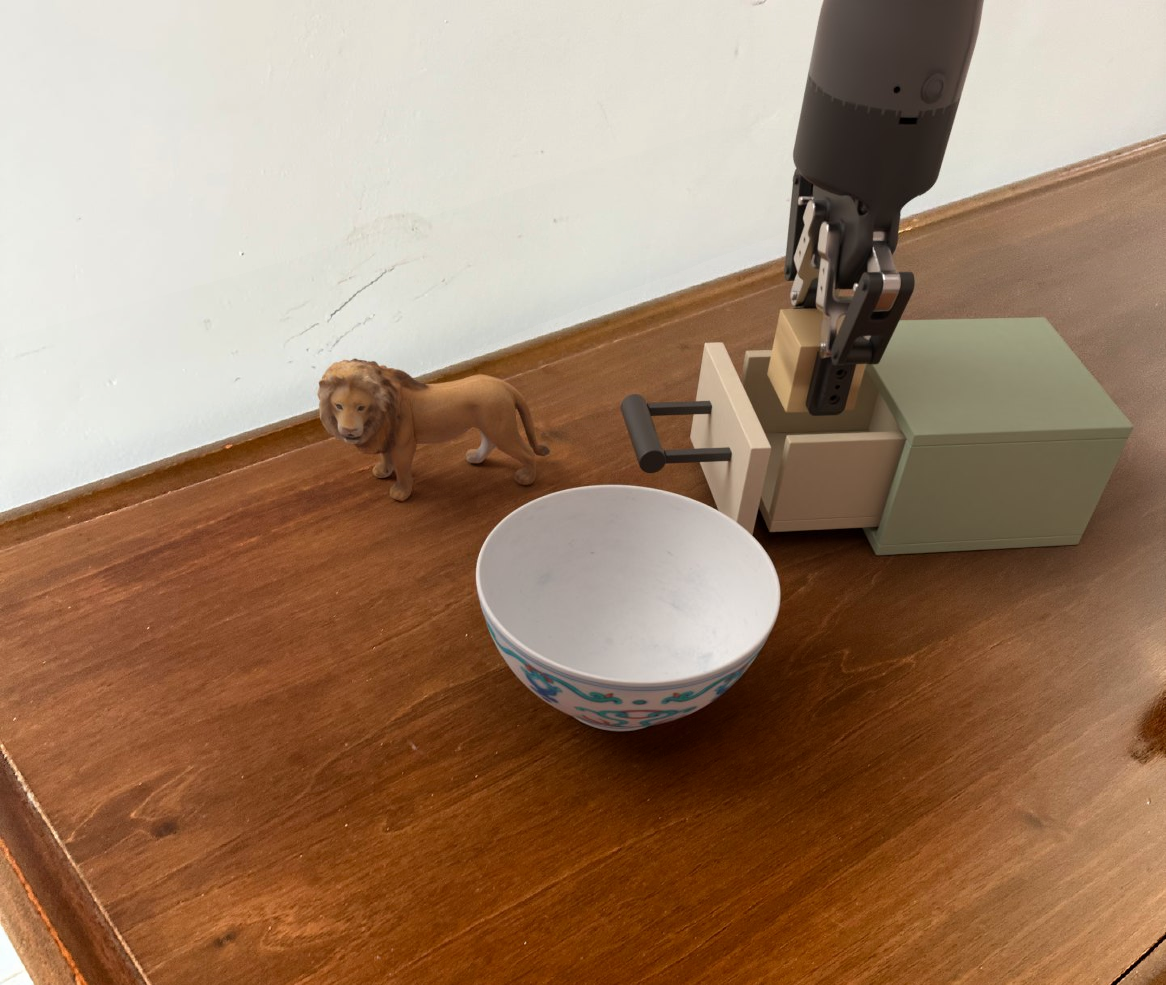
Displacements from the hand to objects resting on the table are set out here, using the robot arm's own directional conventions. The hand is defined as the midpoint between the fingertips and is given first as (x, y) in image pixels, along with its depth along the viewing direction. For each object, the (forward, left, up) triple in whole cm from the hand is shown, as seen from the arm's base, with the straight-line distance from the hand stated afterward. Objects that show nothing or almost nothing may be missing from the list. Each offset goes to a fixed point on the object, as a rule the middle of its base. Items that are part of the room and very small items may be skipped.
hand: (812, 388), depth 71 cm
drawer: (+2, 0, -7) cm, 7 cm away
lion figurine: (+22, -3, -8) cm, 24 cm away
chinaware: (+14, +16, -8) cm, 23 cm away
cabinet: (-11, 0, -8) cm, 13 cm away
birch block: (0, 0, 0) cm, 0 cm away
